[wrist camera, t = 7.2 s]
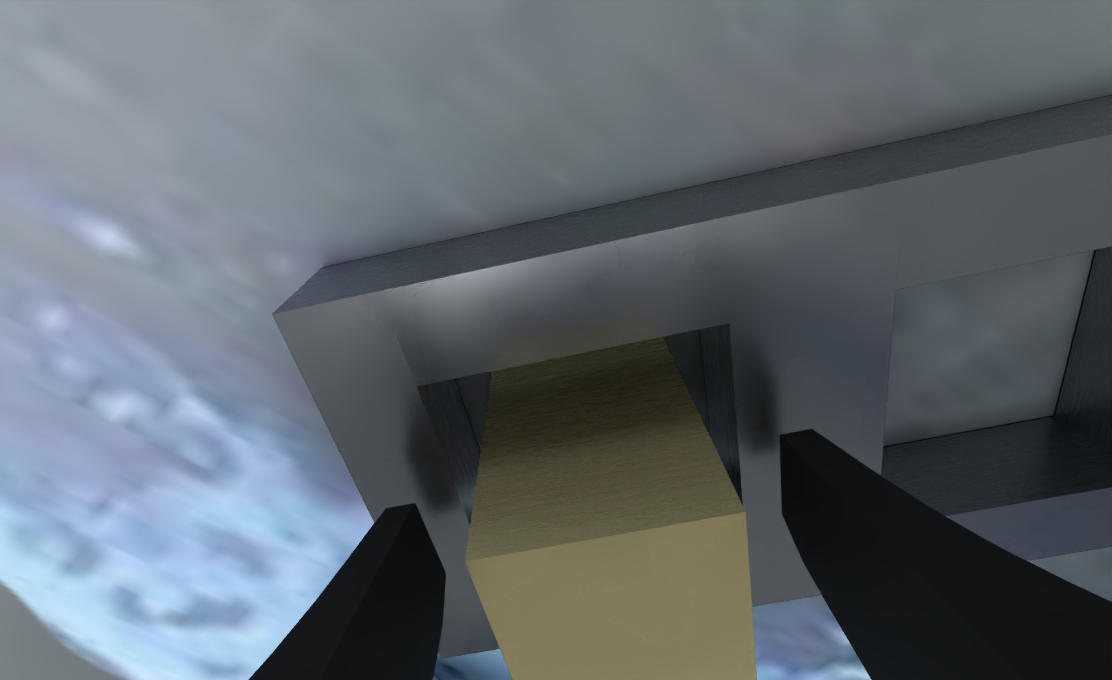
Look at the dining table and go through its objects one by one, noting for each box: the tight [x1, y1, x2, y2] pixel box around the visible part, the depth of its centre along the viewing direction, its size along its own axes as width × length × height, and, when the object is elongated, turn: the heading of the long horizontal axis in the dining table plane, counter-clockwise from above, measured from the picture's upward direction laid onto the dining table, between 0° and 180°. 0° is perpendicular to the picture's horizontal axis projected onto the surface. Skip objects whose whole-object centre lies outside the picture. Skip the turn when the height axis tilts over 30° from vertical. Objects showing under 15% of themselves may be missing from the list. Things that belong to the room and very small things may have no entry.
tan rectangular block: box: [465, 337, 757, 680], centre depth 11 cm, size 4×4×6 cm
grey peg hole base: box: [272, 95, 1112, 659], centre depth 12 cm, size 19×10×2 cm, turn 102°
